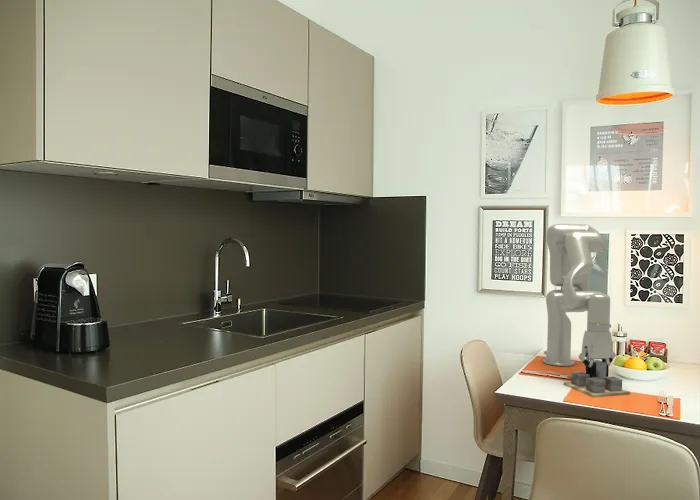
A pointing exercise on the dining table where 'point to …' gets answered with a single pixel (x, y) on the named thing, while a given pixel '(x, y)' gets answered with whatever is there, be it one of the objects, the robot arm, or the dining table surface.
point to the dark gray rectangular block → (599, 369)
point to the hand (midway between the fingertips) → (596, 376)
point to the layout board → (596, 385)
